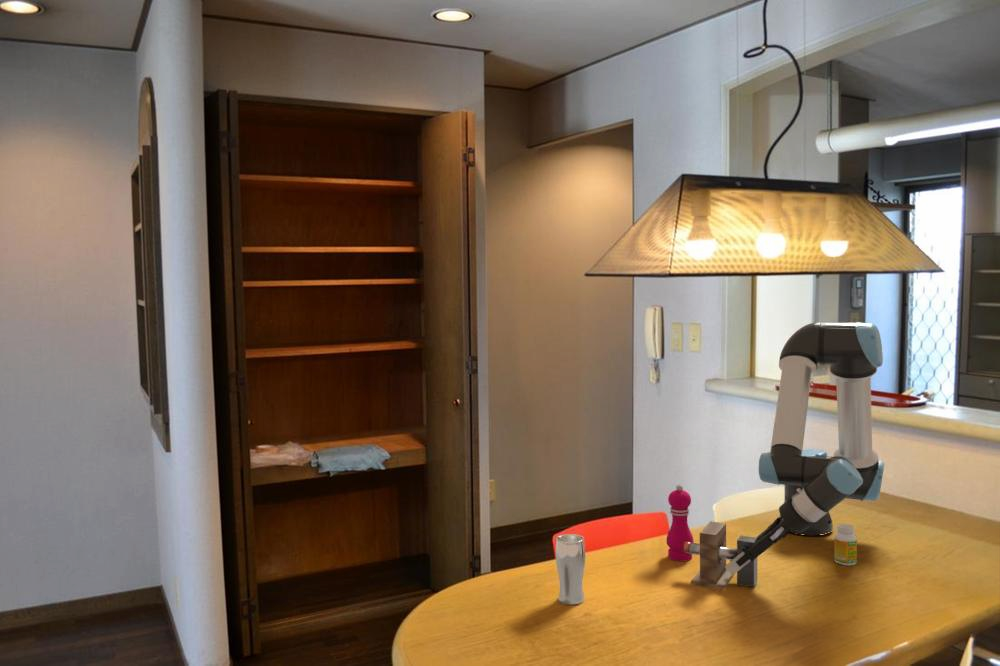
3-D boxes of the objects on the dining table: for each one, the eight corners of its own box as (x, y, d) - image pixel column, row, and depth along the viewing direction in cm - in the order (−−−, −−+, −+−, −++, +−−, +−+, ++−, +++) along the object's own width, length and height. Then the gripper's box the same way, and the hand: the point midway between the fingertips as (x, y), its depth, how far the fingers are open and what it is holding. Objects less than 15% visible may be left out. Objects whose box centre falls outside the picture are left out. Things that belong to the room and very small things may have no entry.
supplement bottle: (849, 567, 202) (849, 530, 201) (830, 561, 206) (830, 525, 205) (860, 562, 205) (861, 526, 204) (841, 557, 209) (841, 521, 209)
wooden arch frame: (735, 573, 200) (735, 523, 199) (723, 590, 190) (723, 537, 189) (704, 568, 204) (703, 519, 203) (690, 584, 194) (690, 532, 193)
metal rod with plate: (757, 581, 193) (757, 537, 193) (753, 587, 190) (753, 542, 189) (687, 569, 202) (687, 528, 201) (682, 575, 199) (682, 532, 198)
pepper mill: (691, 552, 215) (691, 481, 214) (695, 562, 208) (695, 488, 207) (665, 552, 216) (664, 481, 215) (668, 561, 209) (667, 488, 208)
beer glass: (550, 599, 187) (549, 538, 186) (571, 591, 191) (570, 531, 190) (571, 608, 181) (570, 545, 180) (592, 600, 186) (591, 538, 185)
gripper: (796, 489, 193) (728, 544, 203) (783, 507, 179) (711, 566, 188) (819, 512, 191) (750, 567, 201) (808, 533, 176) (734, 592, 186)
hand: (731, 567), depth 194 cm, fingers closed on metal rod with plate, 4 cm apart
